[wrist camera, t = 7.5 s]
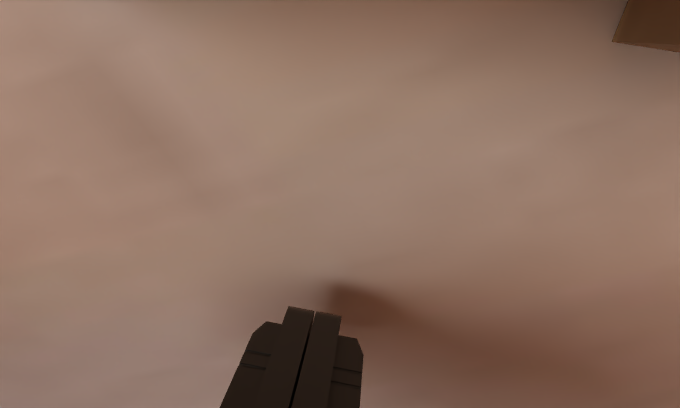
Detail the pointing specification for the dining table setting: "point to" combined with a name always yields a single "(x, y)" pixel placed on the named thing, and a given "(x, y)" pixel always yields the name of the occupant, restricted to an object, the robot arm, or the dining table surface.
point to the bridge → (650, 24)
